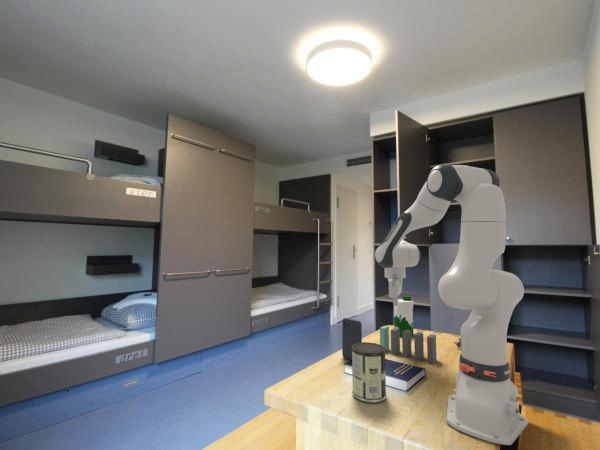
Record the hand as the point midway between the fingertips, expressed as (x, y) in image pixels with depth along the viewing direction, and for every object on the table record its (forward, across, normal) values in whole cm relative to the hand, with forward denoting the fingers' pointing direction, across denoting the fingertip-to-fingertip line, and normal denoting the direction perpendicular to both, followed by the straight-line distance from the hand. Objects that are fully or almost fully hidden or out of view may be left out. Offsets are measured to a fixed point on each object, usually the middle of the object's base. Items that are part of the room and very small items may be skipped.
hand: (395, 305), depth 128 cm
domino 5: (+20, -4, -14) cm, 25 cm away
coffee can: (+21, -41, +5) cm, 46 cm away
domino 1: (+20, +2, +6) cm, 21 cm away
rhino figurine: (+21, +16, -29) cm, 39 cm away
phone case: (+20, -15, +16) cm, 30 cm away
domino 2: (+20, +1, +1) cm, 20 cm away
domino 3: (+20, 0, -4) cm, 21 cm away
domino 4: (+20, -2, -9) cm, 22 cm away
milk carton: (+20, +30, -1) cm, 36 cm away
